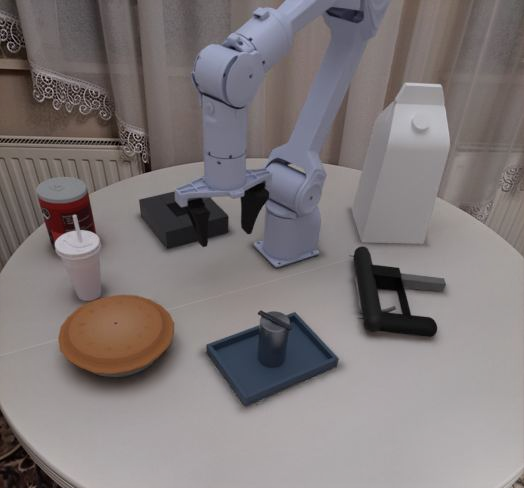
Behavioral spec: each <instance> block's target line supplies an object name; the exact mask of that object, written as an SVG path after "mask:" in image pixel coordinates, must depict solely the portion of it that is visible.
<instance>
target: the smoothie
mask: <svg viewBox="0 0 524 488" xmlns="http://www.w3.org/2000/svg"><path fill="white" fill-rule="evenodd" d="M73 220H74V224H75V229H76V231H71V232H67V233H65V234H63V235H61V236H60V237H59V238H57V240H56V241H55V248H56V249H55V250H56V251H55V250H54V251H55V253H56V255H57V256H58V257H60V259H61V261H62V263H63V265H64V268H65V271H66V272H67V276H68V277H69V279H70V283H71V284H72V286H73V289H74V291H75V293H76V295H77V298H79V300H81V301H83V302H91V301H94V300H97V299H100V298H101V295H102V293H103V290H102V289H103V288H102V274H101V257H100V256H101V255H100V250H101V247H102V243H101V239H100V237H99V235H98V234H97V235H96V234H95V233H93V232H90V231H85V230H80V228H79V224H78V219H77V215H73Z"/></svg>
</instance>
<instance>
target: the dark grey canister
mask: <svg viewBox="0 0 524 488" xmlns="http://www.w3.org/2000/svg"><path fill="white" fill-rule="evenodd" d="M257 315H258V316H260V319H259V325H260V327H259V341H258V356H257V357H258V360H259V362H260V363H261V364H262V365H264V366H266V367H278V366H280V365H282V364H283V363H284V361H285V358H286V350H287V342H288V334H289V330H291V329H292V328H293V326H291V325H290V320H289V318H288V317H287V316H286V315H287V314H285V313H283V312H280V311H276V310H275V311H267V312H265V311H263V310H262V309H261V310H259V311H257Z"/></svg>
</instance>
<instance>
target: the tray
mask: <svg viewBox="0 0 524 488" xmlns="http://www.w3.org/2000/svg"><path fill="white" fill-rule="evenodd" d="M285 315H286V316H287V317H288V318H289V320H290V325H291V326H293V328H292V329H291V330H289V334H288V342H287V350H286V358H285V361H284V363H283V364H282V365H280V366H278V367H266V366H264V365H262V364H261V363H260V362H259V360H258V357H257V356H258V341H259V327H260V324H258V325H255V326H253V327H250V328H247V329H245V330H242V331H239V332H235V333H234V334H231V335H228V336H225V337H222V338H220V339H218V340H217V339H216V340H215V341H212V342H209V343H206V344H205V351H206V354H207V356H208V358H210V360H211V361H212V363H213V364H214V365H215V367H216V369H218V371H219V373H220V374H221V375H222V377H223V378H224V380H225V381H226V383H227V384H228V385H229V386H230V388H231V389H232V391H233V392H234V393H235V395H236V396H237V398H238V399H239V401H240V402H241V403H242V405H243V407H247V406H250V405H253V404H254V403H258V402H259V401H262V400H263V399H266V398H269V397H271V396H273V395H275V394H277V393H280V392H282V391H285V390H287V389H289V388H291V387H294V386H296V385H299V384H300V383H302V382H305V381H307V380H310V379H312V378H314V377H316V376H318V375H321V374H323V373H326V372H328V371H330V370H332V369H335V368H337V367H338V364H339V359H340V358H339V357H338V356H337V354H335V352H333V351H332V349H331V348H330V347H329V346H328V345H327V344H326V343H325V341H323V340H322V339H321V338H320V336H318V334H317V333H316V332H314V330H313V329H312V328H311V327H310V326H309V325H308V324H307V323H306V322H305V321H304V320H303V319H302V318H301V317H300V315H299V314H298V313H297V312H296V311H293V312H291V313H288V314H285Z"/></svg>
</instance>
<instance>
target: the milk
mask: <svg viewBox="0 0 524 488" xmlns="http://www.w3.org/2000/svg"><path fill="white" fill-rule="evenodd" d="M448 123H449V122H448V117H447V110H446V102H445V95H444V88H443V85H442V84H440V83H423V82H404V83H403V85H402V86H401V88H400V90H398V93H397V95H396V96H395V97H394V100H393V101H392V102H390V103H389V104H388V105H387V106H386V108H384V109H383V110H382V111H381V112H379V114H378V115H377V117H376V119H375V121H374V124H373V128H372V132H371V136H370V139H369V143H368V147H367V151H366V155H365V157H364V162H363V166H362V169H361V173H360V176H359V181H358V185H357V188H356V192H355V195H354V199H353V202H352V203H353V204H352V207H351V213H352V216H353V220H354V224H355V226H356V231H357V233H358V237H359V240H360V242H361V243H370V244H371V243H374V244H377V243H378V244H406V245H409V244H411V245H424V244H425V241H426V237H427V233H428V230H429V225H430V222H431V218H432V215H433V211H434V207H435V204H436V201H437V197H438V193H439V190H440V186H441V182H442V178H443V176H444V171H445V167H446V164H447V160H448V157H449V153H450V147H451V139H450V131H449V124H448Z"/></svg>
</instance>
